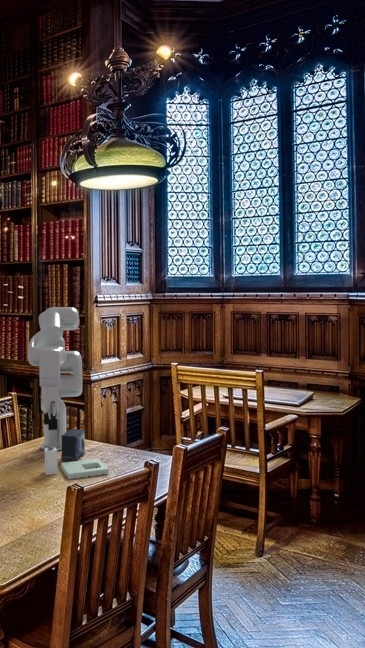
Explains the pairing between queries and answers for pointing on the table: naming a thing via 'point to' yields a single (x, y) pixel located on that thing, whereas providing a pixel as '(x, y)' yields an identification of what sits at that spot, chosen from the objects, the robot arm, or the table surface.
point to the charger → (50, 460)
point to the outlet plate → (84, 468)
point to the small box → (73, 445)
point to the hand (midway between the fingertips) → (50, 426)
